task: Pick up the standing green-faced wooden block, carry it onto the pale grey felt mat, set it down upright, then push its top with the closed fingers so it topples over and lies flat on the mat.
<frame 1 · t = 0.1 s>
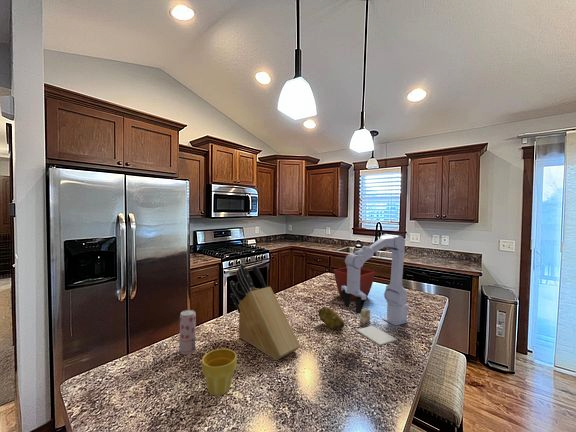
hand: (352, 310, 118), 10 cm above the counter, fingers open, 7 cm apart
plant pot 2: (353, 296, 167), on the counter
knife block: (261, 341, 109), on the counter
plant pot: (219, 388, 80), on the counter
beverage can: (187, 351, 100), on the counter
green-faced wooden block: (365, 321, 130), on the counter
mat: (375, 335, 116), on the counter
potato: (330, 326, 124), on the counter
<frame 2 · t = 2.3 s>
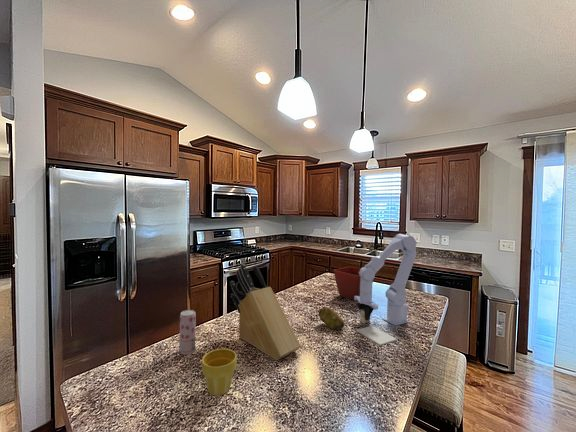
hand: (365, 318, 130), 1 cm above the counter, fingers closed on green-faced wooden block, 2 cm apart
green-faced wooden block: (365, 321, 130), on the counter, touching gripper
everything else where it was.
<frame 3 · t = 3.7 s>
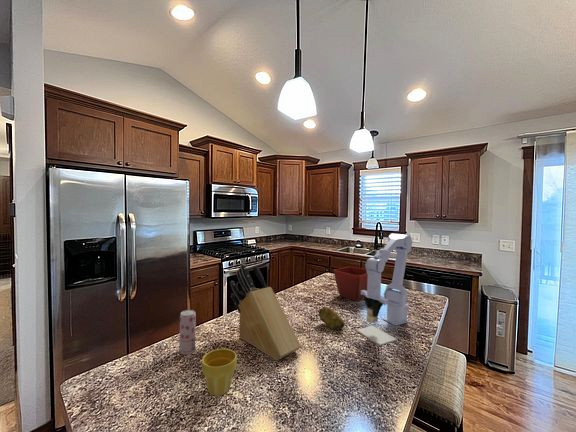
hand: (373, 315, 117), 8 cm above the counter, fingers closed on green-faced wooden block, 2 cm apart
green-faced wooden block: (372, 321, 117), point 6 cm above the counter, touching gripper
everything else where it was.
when the fingers open (3 cm above the counter, at t = 5.1 s): green-faced wooden block stays where it is, resting on mat.
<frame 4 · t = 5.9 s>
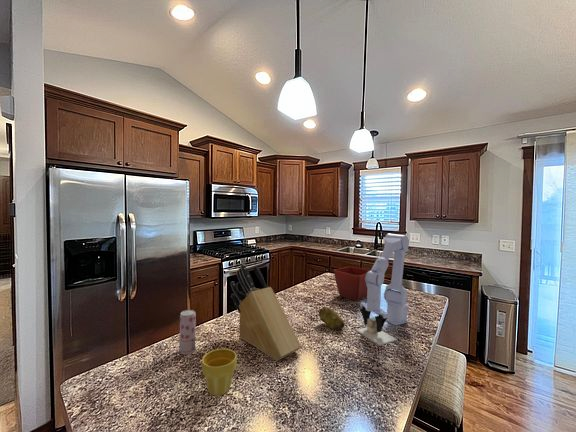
hand: (372, 327, 117), 3 cm above the counter, fingers open, 7 cm apart
green-faced wooden block: (372, 332, 117), point 1 cm above the counter, touching mat
everything else where it was.
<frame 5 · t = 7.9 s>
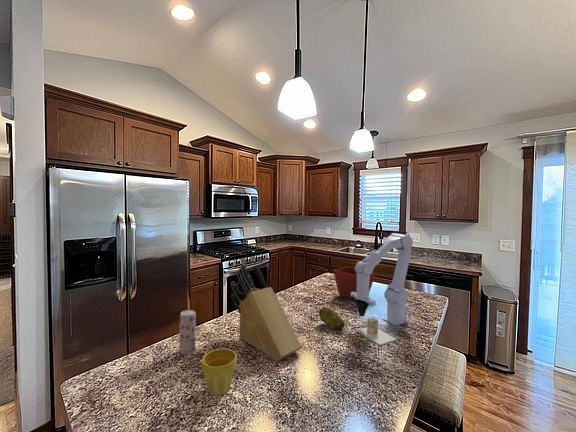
hand: (361, 315, 123), 6 cm above the counter, fingers closed
nothing on the counter moved.
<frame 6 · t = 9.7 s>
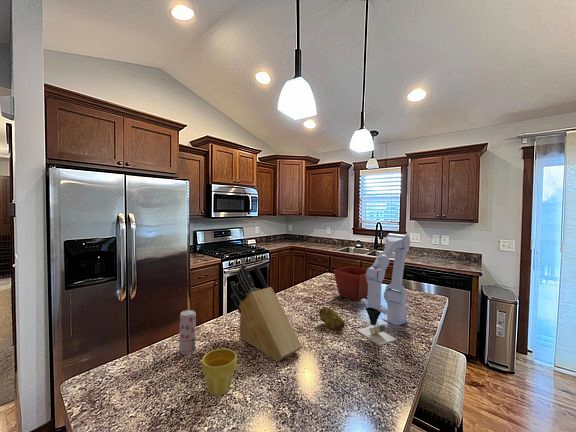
hand: (373, 324, 117), 4 cm above the counter, fingers closed
green-faced wooden block: (373, 330, 117), point 2 cm above the counter, tilted 58°, touching mat
everything else where it was.
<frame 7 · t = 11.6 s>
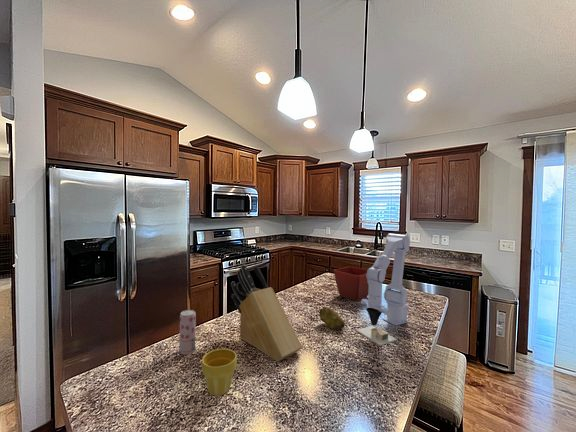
hand: (374, 324, 117), 4 cm above the counter, fingers closed
green-faced wooden block: (374, 330, 116), point 2 cm above the counter, tilted 90°, touching mat
everything else where it was.
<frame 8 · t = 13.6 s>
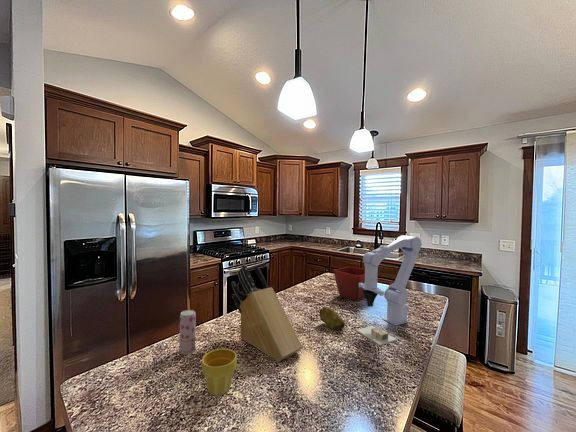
hand: (370, 306, 124), 10 cm above the counter, fingers closed
at the end: green-faced wooden block tilted 90°; green-faced wooden block inside the target area (0.7 cm from its centre), point 1.8 cm above the counter; the gripper is holding nothing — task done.
